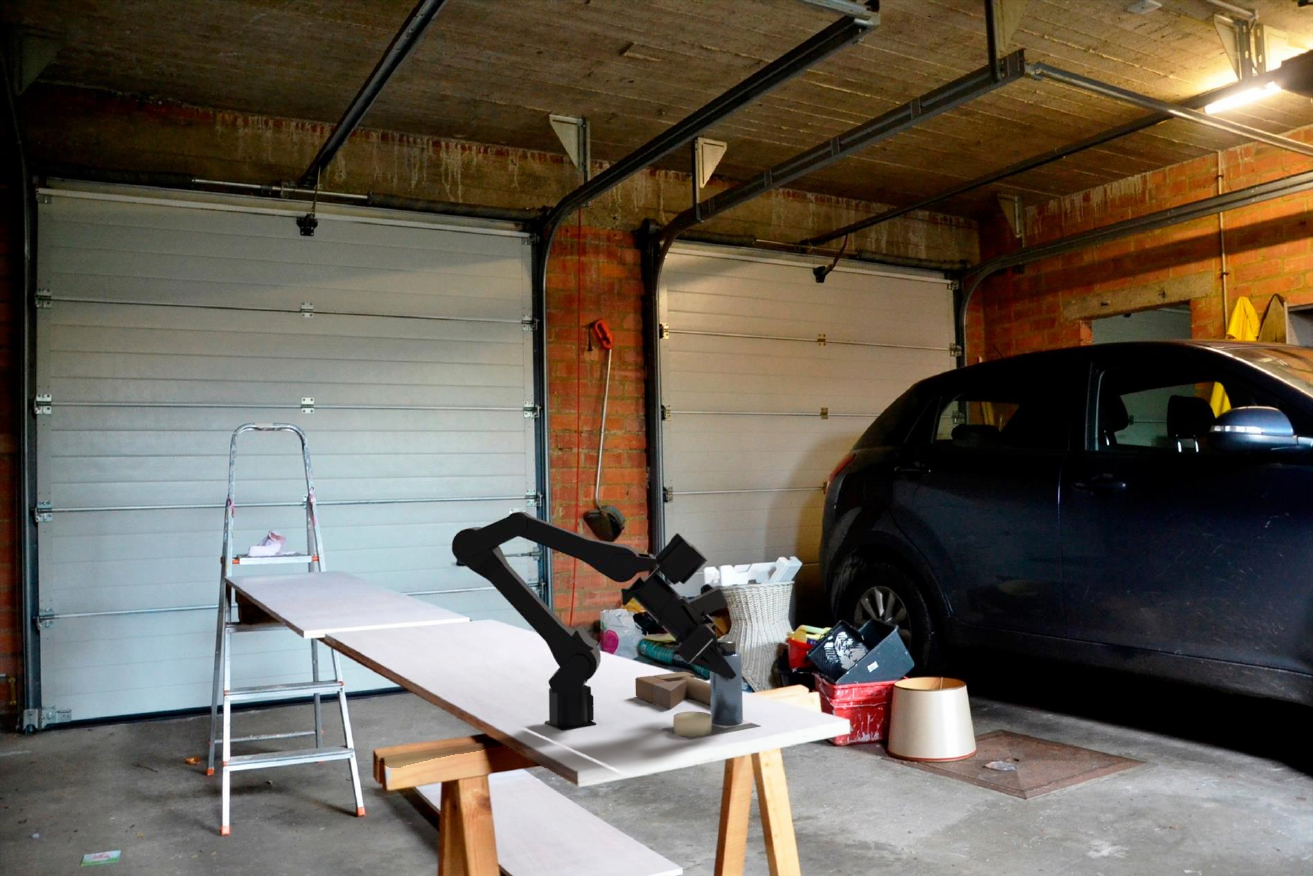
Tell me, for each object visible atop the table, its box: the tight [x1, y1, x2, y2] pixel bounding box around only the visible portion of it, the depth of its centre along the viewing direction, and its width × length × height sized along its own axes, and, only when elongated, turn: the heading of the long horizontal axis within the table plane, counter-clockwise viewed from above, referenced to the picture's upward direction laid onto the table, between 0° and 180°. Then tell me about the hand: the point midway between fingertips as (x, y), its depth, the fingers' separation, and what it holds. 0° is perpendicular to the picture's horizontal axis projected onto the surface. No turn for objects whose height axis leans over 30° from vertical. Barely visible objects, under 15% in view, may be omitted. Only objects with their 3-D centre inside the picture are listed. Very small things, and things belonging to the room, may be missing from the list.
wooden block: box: [635, 671, 711, 710], centre depth 182 cm, size 4×11×18 cm
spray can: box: [709, 639, 744, 726], centre depth 164 cm, size 5×5×13 cm
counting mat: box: [661, 719, 761, 740], centre depth 161 cm, size 14×8×1 cm, turn 123°
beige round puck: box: [673, 711, 712, 737], centre depth 159 cm, size 6×6×2 cm
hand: (733, 671), depth 164 cm, fingers open, 9 cm apart
